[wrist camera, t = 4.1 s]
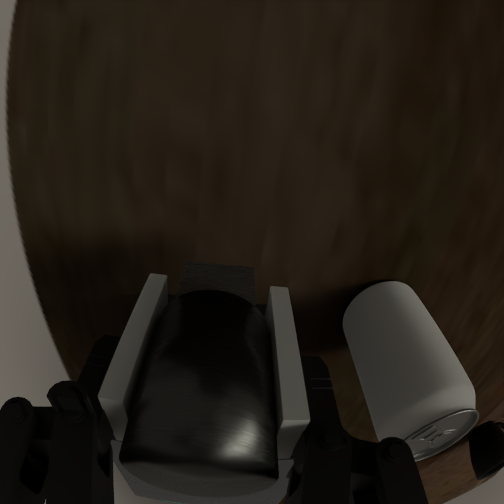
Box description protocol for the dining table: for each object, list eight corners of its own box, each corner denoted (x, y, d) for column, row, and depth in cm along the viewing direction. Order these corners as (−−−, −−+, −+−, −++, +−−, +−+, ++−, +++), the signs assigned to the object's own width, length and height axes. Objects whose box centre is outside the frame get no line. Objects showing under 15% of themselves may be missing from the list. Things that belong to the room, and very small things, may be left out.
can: (372, 351, 25) (414, 469, 15) (324, 320, 24) (360, 461, 13) (427, 303, 23) (495, 415, 13) (386, 262, 21) (467, 393, 11)
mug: (505, 421, 39) (521, 456, 31) (457, 447, 41) (472, 485, 33) (518, 400, 36) (538, 438, 27) (467, 429, 37) (485, 471, 29)
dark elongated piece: (172, 245, 14) (101, 426, 6) (272, 255, 14) (296, 449, 6) (186, 473, 26) (179, 548, 18) (228, 477, 26) (227, 552, 18)
